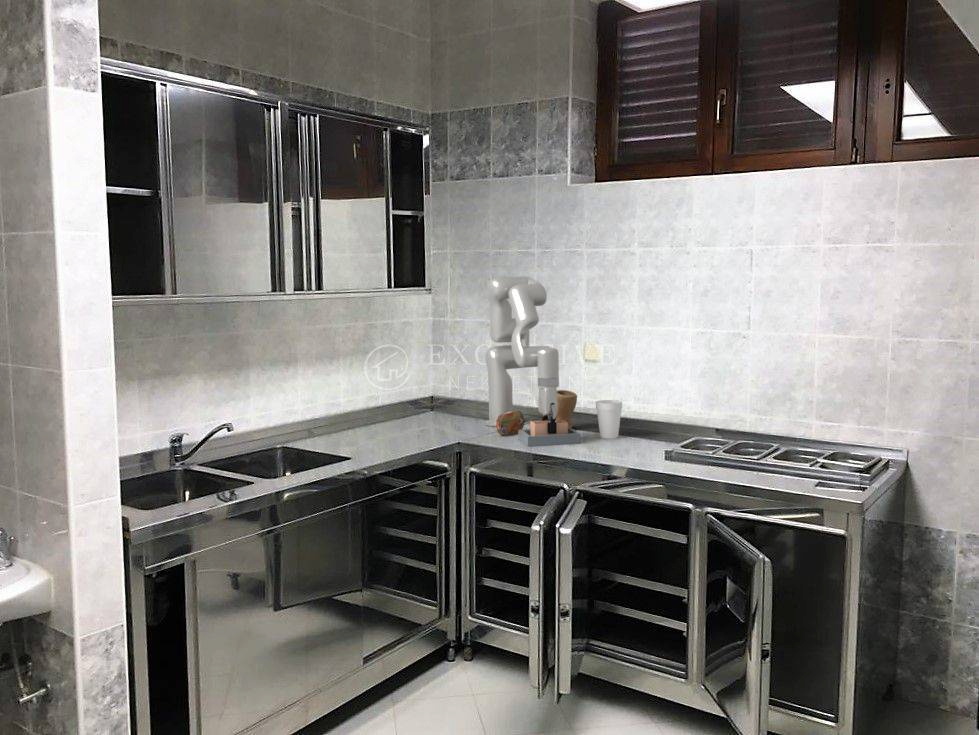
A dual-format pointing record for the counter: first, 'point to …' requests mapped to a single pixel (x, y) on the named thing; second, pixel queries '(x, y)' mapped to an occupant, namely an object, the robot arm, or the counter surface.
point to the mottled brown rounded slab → (510, 423)
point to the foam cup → (609, 417)
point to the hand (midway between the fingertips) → (549, 431)
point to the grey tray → (549, 438)
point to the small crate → (541, 428)
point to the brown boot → (566, 405)
